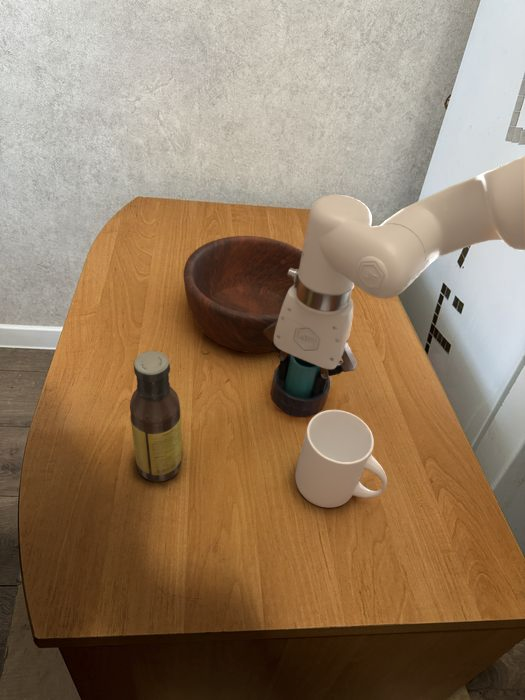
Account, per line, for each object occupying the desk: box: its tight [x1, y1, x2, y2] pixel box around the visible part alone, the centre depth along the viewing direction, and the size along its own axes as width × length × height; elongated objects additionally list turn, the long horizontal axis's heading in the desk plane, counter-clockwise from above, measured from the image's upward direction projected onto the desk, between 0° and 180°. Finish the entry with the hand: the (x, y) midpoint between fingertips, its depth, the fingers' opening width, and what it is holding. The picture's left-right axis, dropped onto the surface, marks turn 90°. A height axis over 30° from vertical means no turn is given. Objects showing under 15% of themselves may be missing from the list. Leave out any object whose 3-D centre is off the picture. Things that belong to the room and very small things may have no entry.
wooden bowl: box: [183, 235, 303, 354], centre depth 95 cm, size 25×25×10 cm
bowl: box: [269, 364, 332, 419], centre depth 84 cm, size 9×9×4 cm
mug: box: [294, 409, 388, 508], centre depth 70 cm, size 9×12×11 cm
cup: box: [283, 355, 320, 398], centre depth 82 cm, size 5×5×8 cm
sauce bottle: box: [129, 350, 183, 483], centre depth 67 cm, size 6×6×20 cm
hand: (301, 381), depth 83 cm, fingers closed on cup, 5 cm apart
